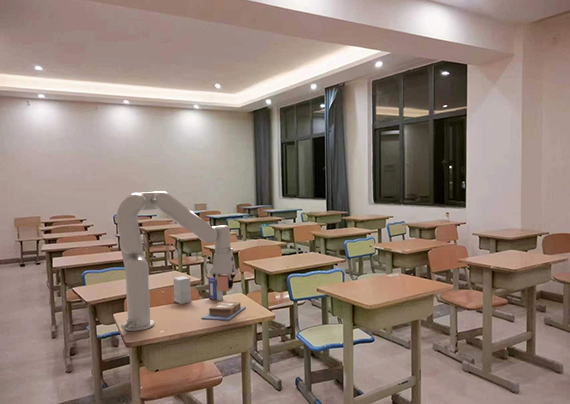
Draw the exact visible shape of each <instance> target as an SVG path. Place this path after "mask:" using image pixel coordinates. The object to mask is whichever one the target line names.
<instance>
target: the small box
mask: <svg viewBox="0 0 570 404" xmlns="http://www.w3.org/2000/svg"><path fill="white" fill-rule="evenodd" d="M191 291H192V290H191V278H190V277H187V276H185V275H184V276H183V275H181V276H178V277H173V300H174V302H176V303H177V304H180V305H183V304H186V303H191V302H192V292H191Z"/></svg>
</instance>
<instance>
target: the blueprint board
mask: <svg viewBox="0 0 570 404" xmlns="http://www.w3.org/2000/svg"><path fill="white" fill-rule="evenodd" d="M240 307H241V308H240V309H239V310H238V311H236V312H235V313H234V314H232V315H231V316H224V315H209V313H207V314H205V315H204V316H202V317H201V319H202V320H210V321H211V320H212V321H224V322H225V321H226V322H230V321H231V320H232V319H233V318H235V317H236V316H238V314H240V313H241V312H243V311H244V310H245V309H246V306H240Z"/></svg>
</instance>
